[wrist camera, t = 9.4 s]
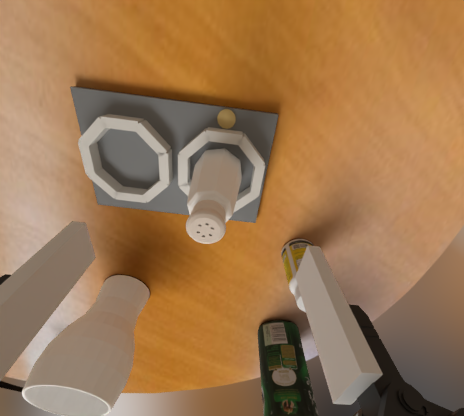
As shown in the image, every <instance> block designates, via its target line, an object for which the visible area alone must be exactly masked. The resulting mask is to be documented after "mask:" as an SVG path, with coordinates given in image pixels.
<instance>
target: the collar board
mask: <svg viewBox="0 0 464 416" xmlns="http://www.w3.org/2000/svg"><path fill="white" fill-rule="evenodd" d="M70 88H71V93H72V97H73V101H74V105H75V110H76V114H77V118H78V122H79V126H80V131H81V135H82V136H81V138H80V139H79V142H78V144H79V148H80V152H81V156H82V160H83V164H84V169H85V173H86V174H87V175H88V177H89V178H90V179H91V180H92V181H93V186H94V190H95V194H96V198H97V203H98V204H100V205H108V206H117V207H125V208H133V209H142V210H150V211H159V212H167V213H176V214H184V215H190V214H189V210H188V206H187V201H188V195H189V190H190V186H191V181H192V176H193V171H194V167H195V164H196V163H197V161H198V160H199V159H200V157H201V156H202V154H203V153H204V152H205V150H213V149H222V148H225V149H227V150H228V151H229V152H230V153H232V154H233V155H234V156H235V157H237V158H238V159H239V160H240V164H241V174H242V180H241V184H240V188H239V192H238V196H237V200H236V204H235V208H234V212H233V215H232V217H231V218H230V219H229V220H235V221H244V222H252V223H255V222H256V218H257V213H258V208H259V204H260V199H261V194H262V190H263V185H264V180H265V176H266V171H267V166H268V162H269V157H270V152H271V148H272V143H273V138H274V134H275V129H276V124H277V120H278V114H277V113H269V112H262V111H255V110H247V109H240V108H232V107H225V106H217V105H210V104H203V103H195V102H188V101H180V100H173V99H165V98H158V97H150V96H143V95H136V94H128V93H121V92H113V91H106V90H98V89H91V88H84V87H76V86H74V87H70Z"/></svg>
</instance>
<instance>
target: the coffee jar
mask: <svg viewBox="0 0 464 416" xmlns="http://www.w3.org/2000/svg"><path fill="white" fill-rule="evenodd" d="M258 345H259V358H260V371H261V386H262V400H263V412H264V416H318V412H317V408H316V403H315V399H314V396H313V391H312V386H311V382H310V378H309V373H308V370H307V365H306V361H305V356H304V352H303V348H302V343H301V339H300V334H299V330H298V327H297V326H296V325H295V324H294V323H291V322H287V321H283V320H275V321H270V322H267V323H264V324H262V325H261V326H260V327H259V330H258Z"/></svg>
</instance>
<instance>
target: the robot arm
mask: <svg viewBox="0 0 464 416" xmlns="http://www.w3.org/2000/svg"><path fill="white" fill-rule="evenodd" d="M95 258H96V257H95V254H94V250H93V246H92V243H91V239H90V236H89V232H88V229H87V225H86V223H84V222H74V221H72V222H71V223H70V224H69V225H67V226H66V227H65V228H64V229H63V230H62V231H61V232H60V233H58V234H57V235H56V236H55V237H54V238H53V239H52V240H51V241H49V242H48V243H47V244H46V245H45V246H44V247H43V248H42V249H40V250H39V251H38V252H37V253H36V254H35V255H34V256H33V257H31V258H30V259H29V260H28V261H27V262H26V263H25V264H23V265H22V266H21V267H20V268H19V269H18V270H17V271H16V272H14V273H13V274H12V275H6V274H5V275H4V276H2V277H0V381H1V379H2V378H3V377H4V376H5V374H6V373H7V372H8V370H9V369H10V368H11V366H12V365H13V364H14V363H15V361H16V360H17V359H18V357H19V356H20V355H21V354H22V352H23V351H24V350H25V348H26V347H27V346H28V344H29V343H30V342H31V341H32V339H33V338H34V337H35V335H36V334H37V333H38V332H39V330H40V329H41V328H42V326H43V325H44V324H45V322H46V321H47V320H48V319H49V317H50V316H51V315H52V313H53V312H54V311H55V310H56V308H57V307H58V306H59V304H60V303H61V302H62V300H63V299H64V298H65V297H66V295H67V294H68V293H69V291H70V290H71V289H72V288H73V286H74V285H75V284H76V282H77V281H78V280H79V278H80V277H81V276H82V275H83V273H84V272H85V271H86V269H87V268H88V267H89V266H90V264H91V263H92V262H93V260H94V259H95ZM295 277H296V280H297V284H298V287H299V290H300V294H301V297H302V300H303V304H304V307H305V310H306V314H307V317H308V320H309V324H310V327H311V331H312V334H313V337H314V341H315V344H316V347H317V351H318V354H319V357H320V361H321V364H322V367H323V371H324V374H325V377H326V381H327V384H328V388H329V391H330V394H331V397H332V401H333V403H334V404H349V405H351V404H352V403H353V402H354V401H356V400H357V399H358V402H359V404H360V407H361V409H360V410H359V411H358V412H356V413H355V414H354V415H353V416H464V408H461V409H458V410H456V411H455V412H452V411H450V410H448V409H445V408H443V407H440V406H438V405H436V404H434V403H431V402H429V401H427V400H425V399H424V398H423V397H422V395H421V394H420V393H419V392H418V391H417V390H416V389H414V388H413V387H412V386H411V385H409V384H407V383H406V382H405V381H404V380H403V378H402V377H401V375H400V374H399V372H398V370H397V368H396V366H395V365H394V363H393V361H392V359H391V357H390V355H389V354H388V352H387V350H386V348H385V347H384V345H383V343H382V341H381V339H379V336H378V334H377V332H376V330H375V329H374V326H373V325H372V323H371V321H370V319H369V317H368V316H367V315H366V313H365V312H364V311H363V310H362V309H361V308H360V307H359V306H358V305H348V303H347V301H346V299H345V297H344V295H343V292H342V290H341V288H340V286H339V284H338V282H337V280H336V278H335V276H334V274H333V272H332V270H331V268H330V266H329V264H328V262H327V260H326V258H325V256H324V254H323V252H322V250H321V248H320V247H318V246H307V248H306V251H305V253H304V256H303V258H302V261H301V264H300V266H299V269H298V271H297V274H296V276H295Z"/></svg>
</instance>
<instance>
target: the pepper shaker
mask: <svg viewBox="0 0 464 416" xmlns="http://www.w3.org/2000/svg"><path fill="white" fill-rule="evenodd" d="M241 180H242V174H241V164H240V160H239V159H238V158H237V157H235V156H234V155H233V154H232V153H230V152H229V151H228V150H227V149H225V148H222V149H213V150H205V152H204V153H203V154H202V156H201V157H200V159H199V160H198V161H197V163H196V164H195V167H194V171H193V176H192V181H191V186H190V190H189V195H188V201H187V206H188V210H189V214H190V216H189V218H188V220H187V222H186V230H187V233H188V234H189V236H190V237H191V238H192V239H194V240H195V241H197V242H200V243H204V244H211V243H214V242H217V241H219V240H220V239H221V238H222V237H223V236H224V234H225V231H226V225H225V223H226V222H227V221H228V220H229V219H230V218H231V217H232V215H233V212H234V208H235V204H236V200H237V196H238V192H239V188H240V184H241Z"/></svg>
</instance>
